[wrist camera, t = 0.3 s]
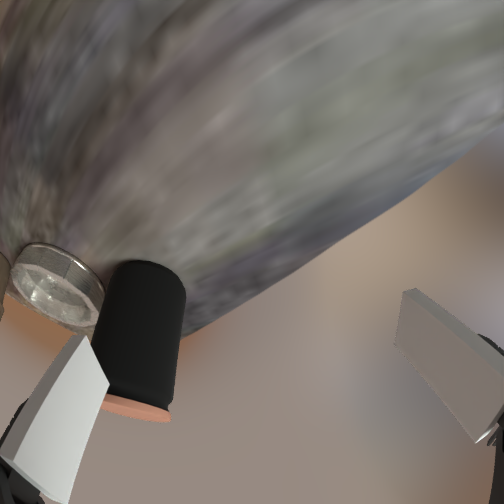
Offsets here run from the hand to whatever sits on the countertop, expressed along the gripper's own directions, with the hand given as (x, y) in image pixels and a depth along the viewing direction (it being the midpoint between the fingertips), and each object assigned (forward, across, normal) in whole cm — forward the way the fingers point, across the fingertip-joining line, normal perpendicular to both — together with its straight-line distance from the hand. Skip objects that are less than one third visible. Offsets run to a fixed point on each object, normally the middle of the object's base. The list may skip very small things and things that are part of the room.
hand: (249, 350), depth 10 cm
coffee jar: (+26, -12, -7) cm, 29 cm away
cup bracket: (+28, -28, -5) cm, 40 cm away
